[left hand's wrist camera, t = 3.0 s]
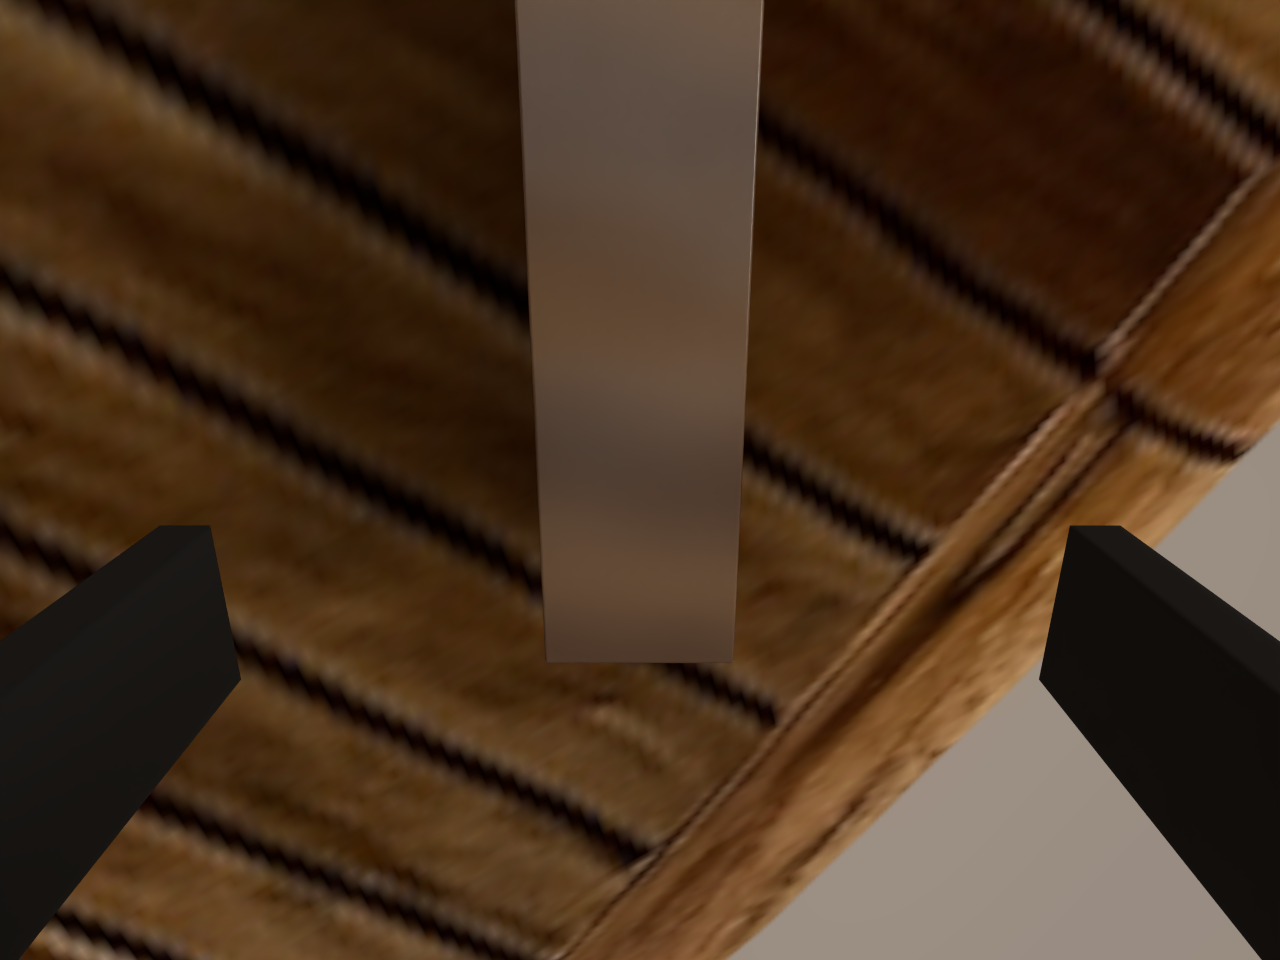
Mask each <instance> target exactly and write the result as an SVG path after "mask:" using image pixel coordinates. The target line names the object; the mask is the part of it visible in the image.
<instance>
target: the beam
mask: <svg viewBox="0 0 1280 960" xmlns="http://www.w3.org/2000/svg"><path fill="white" fill-rule="evenodd" d="M514 4H515V26H516V47H517V68H518V89H519V110H520V131H521V152H522V174H523V195H524V216H525V237H526V258H527V279H528V301H529V322H530V343H531V364H532V385H533V406H534V428H535V449H536V470H537V491H538V512H539V533H540V554H541V576H542V597H543V618H544V639H545V660H546V662H547V663H731V662H733V659H734V637H735V616H736V595H737V573H738V552H739V530H740V509H741V488H742V466H743V445H744V424H745V402H746V381H747V359H748V338H749V317H750V295H751V274H752V253H753V231H754V210H755V189H756V167H757V146H758V124H759V103H760V82H761V60H762V39H763V18H764V0H514Z"/></svg>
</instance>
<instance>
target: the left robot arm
mask: <svg viewBox="0 0 1280 960" xmlns="http://www.w3.org/2000/svg"><path fill="white" fill-rule="evenodd" d="M240 680H241V677H240V672H239V667H238V662H237V657H236V652H235V647H234V642H233V637H232V632H231V627H230V622H229V618H228V613H227V608H226V603H225V598H224V593H223V588H222V583H221V578H220V573H219V568H218V563H217V558H216V553H215V548H214V543H213V538H212V533H211V528H210V526H159V527H157V528H156V529H154V530H153V531H152V532H150V533H149V534H148V535H146V536H145V537H143V538H142V539H141V540H139V541H138V542H137V543H135V544H134V545H132V546H131V547H130V548H128V549H127V550H126V551H124V552H123V553H121V554H120V555H119V556H117V557H116V558H115V559H113V560H112V561H110V562H109V563H108V564H106V565H105V566H103V567H102V568H101V569H99V570H98V571H97V572H95V573H94V574H92V575H91V576H90V577H88V578H87V579H86V580H84V581H83V582H81V583H80V584H79V585H77V586H76V587H75V588H73V589H72V590H70V591H69V592H68V593H66V594H65V595H64V596H62V597H61V598H59V599H58V600H57V601H55V602H54V603H53V604H51V605H50V606H48V607H47V608H46V609H44V610H43V611H41V612H40V613H39V614H37V615H36V616H35V617H33V618H32V619H30V620H29V621H28V622H26V623H25V624H24V625H22V626H21V627H19V628H18V629H17V630H15V631H14V632H13V633H11V634H10V635H8V636H7V637H6V638H4V639H3V640H2V641H0V960H18V959H19V958H20V957H21V956H22V954H23V953H24V952H25V951H26V949H27V948H28V947H29V946H30V944H31V943H32V942H33V941H34V939H35V938H36V937H37V936H38V934H39V933H40V932H41V931H42V929H43V928H44V927H45V925H46V924H47V923H48V922H49V920H50V919H51V918H52V917H53V915H54V914H55V913H56V912H57V910H58V909H59V908H60V907H61V905H62V904H63V903H64V902H65V900H66V899H67V898H68V897H69V895H70V894H71V893H72V892H73V890H74V889H75V888H76V886H77V885H78V884H79V883H80V881H81V880H82V879H83V878H84V876H85V875H86V874H87V873H88V871H89V870H90V869H91V868H92V866H93V865H94V864H95V863H96V861H97V860H98V859H99V858H100V856H101V855H102V854H103V852H104V851H105V850H106V849H107V847H108V846H109V845H110V844H111V842H112V841H113V840H114V839H115V837H116V836H117V835H118V834H119V832H120V831H121V830H122V829H123V827H124V826H125V825H126V824H127V822H128V821H129V820H130V818H131V817H132V816H133V815H134V813H135V812H136V811H137V810H138V808H139V807H140V806H141V805H142V803H143V802H144V801H145V800H146V798H147V797H148V796H149V795H150V793H151V792H152V791H153V790H154V788H155V787H156V786H157V785H158V783H159V782H160V781H161V779H162V778H163V777H164V776H165V774H166V773H167V772H168V771H169V769H170V768H171V767H172V766H173V764H174V763H175V762H176V761H177V759H178V758H179V757H180V756H181V754H182V753H183V752H184V751H185V749H186V748H187V747H188V745H189V744H190V743H191V742H192V740H193V739H194V738H195V737H196V735H197V734H198V733H199V732H200V730H201V729H202V728H203V727H204V725H205V724H206V723H207V722H208V720H209V719H210V718H211V717H212V715H213V714H214V713H215V712H216V710H217V709H218V708H219V706H220V705H221V704H222V703H223V701H224V700H225V699H226V698H227V696H228V695H229V694H230V693H231V691H232V690H233V689H234V688H235V686H236V685H237V684H238V683H239V681H240ZM1039 680H1040V681H1041V683H1042V684H1043V685H1044V686H1045V688H1046V689H1047V690H1048V691H1049V693H1050V694H1051V695H1052V696H1053V698H1054V699H1055V700H1056V701H1057V703H1058V704H1059V705H1060V706H1061V708H1062V709H1063V710H1064V712H1065V713H1066V714H1067V715H1068V717H1069V718H1070V719H1071V720H1072V722H1073V723H1074V724H1075V725H1076V727H1077V728H1078V729H1079V730H1080V732H1081V733H1082V734H1083V735H1084V737H1085V738H1086V739H1087V740H1088V742H1089V743H1090V744H1091V745H1092V747H1093V748H1094V749H1095V751H1096V752H1097V753H1098V754H1099V756H1100V757H1101V758H1102V759H1103V761H1104V762H1105V763H1106V764H1107V766H1108V767H1109V768H1110V769H1111V771H1112V772H1113V773H1114V774H1115V776H1116V777H1117V778H1118V779H1119V781H1120V782H1121V783H1122V784H1123V786H1124V787H1125V788H1126V789H1127V791H1128V792H1129V793H1130V795H1131V796H1132V797H1133V798H1134V800H1135V801H1136V802H1137V803H1138V805H1139V806H1140V807H1141V808H1142V810H1143V811H1144V812H1145V813H1146V815H1147V816H1148V817H1149V818H1150V820H1151V821H1152V822H1153V824H1154V825H1155V826H1156V827H1157V829H1158V830H1159V831H1160V832H1161V834H1162V835H1163V836H1164V837H1165V839H1166V840H1167V841H1168V842H1169V844H1170V845H1171V846H1172V847H1173V849H1174V850H1175V851H1176V852H1177V854H1178V855H1179V856H1180V858H1181V859H1182V860H1183V861H1184V863H1185V864H1186V865H1187V866H1188V868H1189V869H1190V870H1191V871H1192V873H1193V874H1194V875H1195V876H1196V878H1197V879H1198V880H1199V881H1200V883H1201V884H1202V885H1203V886H1204V888H1205V889H1206V890H1207V892H1208V893H1209V894H1210V895H1211V896H1212V898H1213V899H1214V900H1215V902H1216V903H1217V904H1218V905H1219V907H1220V908H1221V909H1222V910H1223V912H1224V913H1225V914H1226V915H1227V917H1228V918H1229V919H1230V920H1231V922H1232V923H1233V924H1234V925H1235V927H1236V928H1237V929H1238V930H1239V932H1240V933H1241V934H1242V936H1243V937H1244V938H1245V939H1246V941H1247V942H1248V943H1249V944H1250V946H1251V947H1252V948H1253V949H1254V951H1255V952H1256V953H1257V954H1258V956H1259V957H1260V958H1261V959H1262V960H1280V641H1278V640H1277V639H1276V638H1274V637H1273V636H1272V635H1270V634H1269V633H1267V632H1266V631H1265V630H1263V629H1262V628H1261V627H1259V626H1258V625H1256V624H1255V623H1254V622H1252V621H1251V620H1249V619H1248V618H1247V617H1245V616H1244V615H1243V614H1241V613H1240V612H1239V611H1237V610H1236V609H1234V608H1233V607H1232V606H1230V605H1229V604H1227V603H1226V602H1225V601H1223V600H1222V599H1221V598H1219V597H1218V596H1216V595H1215V594H1214V593H1212V592H1211V591H1210V590H1208V589H1207V588H1205V587H1204V586H1203V585H1201V584H1200V583H1199V582H1197V581H1196V580H1194V579H1193V578H1192V577H1190V576H1189V575H1187V574H1186V573H1185V572H1183V571H1182V570H1181V569H1179V568H1178V567H1177V566H1175V565H1174V564H1172V563H1171V562H1170V561H1168V560H1167V559H1165V558H1164V557H1163V556H1161V555H1160V554H1158V553H1157V552H1156V551H1154V550H1153V549H1152V548H1150V547H1149V546H1148V545H1146V544H1145V543H1143V542H1142V541H1141V540H1139V539H1138V538H1137V537H1135V536H1134V535H1132V534H1131V533H1130V532H1128V531H1127V530H1126V529H1124V528H1123V527H1121V526H1070V528H1069V533H1068V538H1067V543H1066V548H1065V553H1064V558H1063V563H1062V568H1061V573H1060V578H1059V583H1058V588H1057V593H1056V598H1055V603H1054V608H1053V613H1052V618H1051V622H1050V627H1049V632H1048V637H1047V642H1046V647H1045V652H1044V657H1043V662H1042V667H1041V672H1040V677H1039Z"/></svg>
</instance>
